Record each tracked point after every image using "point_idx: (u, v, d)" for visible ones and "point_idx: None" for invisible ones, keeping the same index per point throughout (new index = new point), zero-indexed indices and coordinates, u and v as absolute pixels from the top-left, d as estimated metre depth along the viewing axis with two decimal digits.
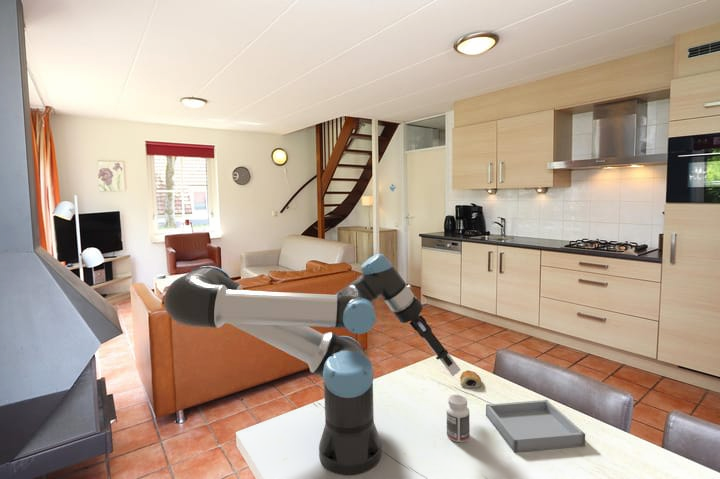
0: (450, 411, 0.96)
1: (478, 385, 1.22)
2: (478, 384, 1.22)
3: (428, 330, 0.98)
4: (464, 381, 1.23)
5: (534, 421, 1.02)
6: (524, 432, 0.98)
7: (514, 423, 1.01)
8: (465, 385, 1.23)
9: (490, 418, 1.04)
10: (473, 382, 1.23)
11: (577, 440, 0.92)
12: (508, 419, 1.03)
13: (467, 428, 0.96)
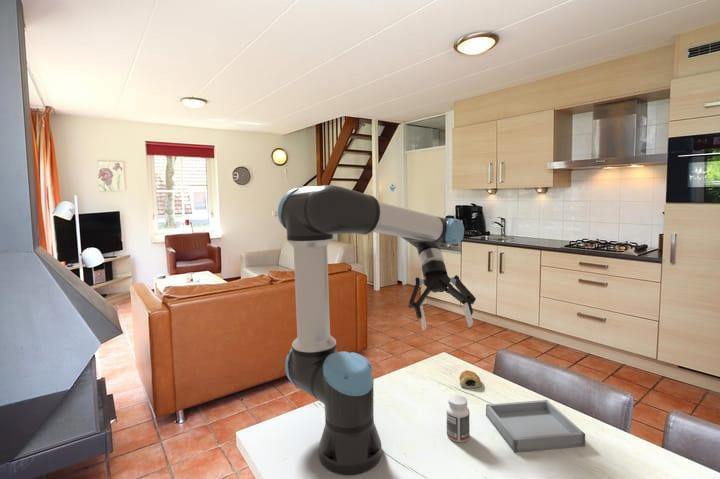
0: (450, 411, 0.96)
1: (477, 385, 1.22)
2: (477, 384, 1.22)
3: None
4: (463, 381, 1.23)
5: (534, 421, 1.02)
6: (524, 432, 0.98)
7: (514, 423, 1.01)
8: (464, 385, 1.23)
9: (490, 418, 1.04)
10: (472, 382, 1.23)
11: (577, 440, 0.92)
12: (508, 419, 1.03)
13: (467, 428, 0.96)
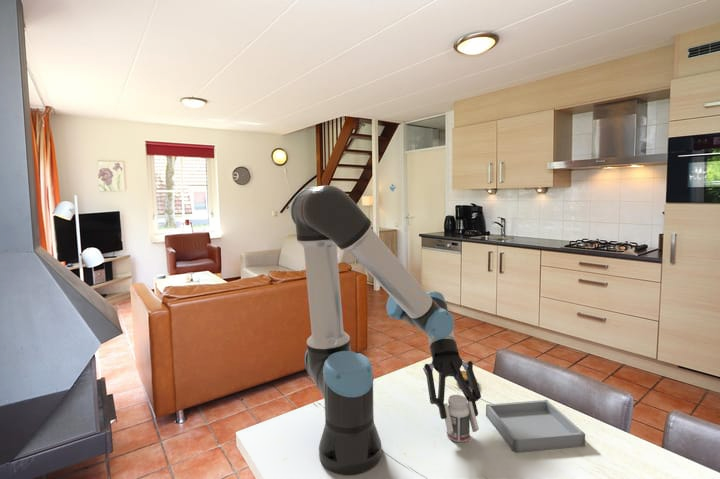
0: (450, 411, 0.96)
1: None
2: None
3: None
4: None
5: (534, 421, 1.02)
6: (524, 432, 0.98)
7: (514, 423, 1.01)
8: None
9: (490, 418, 1.04)
10: None
11: (577, 440, 0.92)
12: (508, 419, 1.03)
13: (467, 428, 0.96)
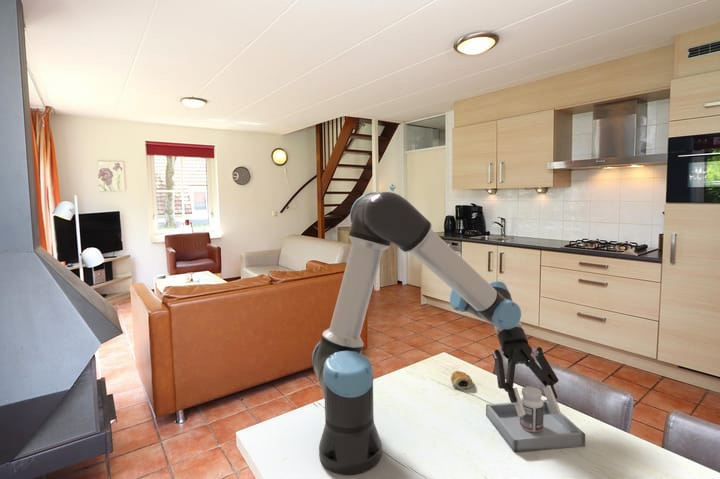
0: (525, 402, 0.98)
1: (470, 385, 1.22)
2: (470, 384, 1.22)
3: None
4: (456, 382, 1.22)
5: None
6: (524, 432, 0.98)
7: (514, 423, 1.01)
8: (457, 386, 1.22)
9: (490, 418, 1.04)
10: (465, 383, 1.22)
11: (577, 440, 0.92)
12: (508, 419, 1.03)
13: (542, 419, 0.97)
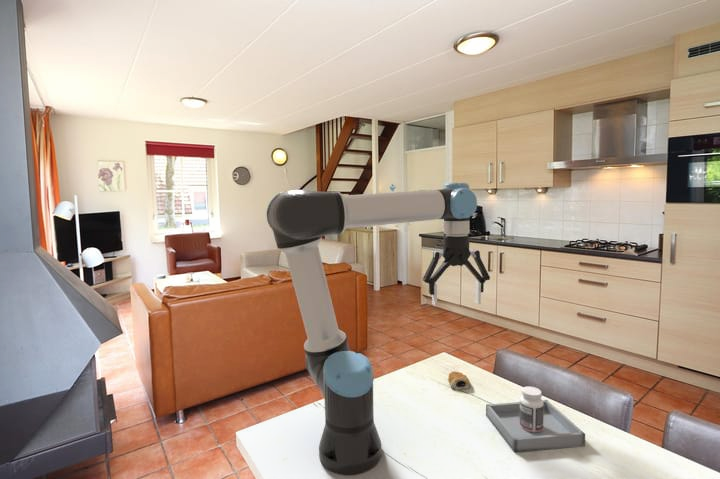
0: (525, 402, 0.98)
1: (468, 386, 1.22)
2: (468, 385, 1.22)
3: None
4: (454, 383, 1.22)
5: None
6: (524, 432, 0.98)
7: (514, 423, 1.01)
8: (455, 387, 1.22)
9: (490, 418, 1.04)
10: (463, 383, 1.22)
11: (577, 440, 0.92)
12: (508, 419, 1.03)
13: (542, 419, 0.97)
